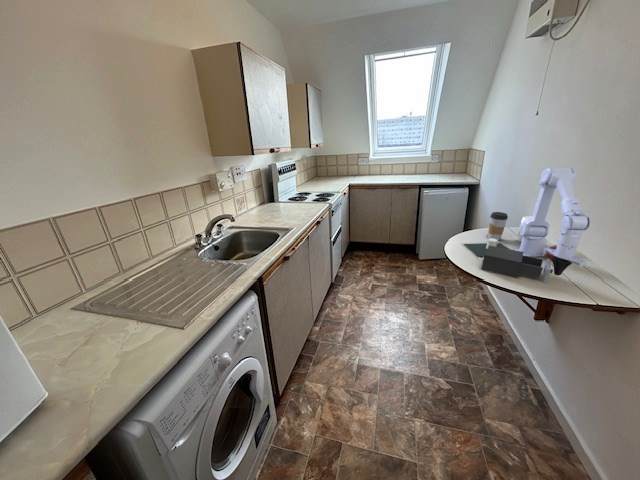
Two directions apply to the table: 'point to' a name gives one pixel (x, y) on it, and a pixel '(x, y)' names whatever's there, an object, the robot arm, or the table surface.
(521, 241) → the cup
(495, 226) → the coffee cup
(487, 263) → the dark grey stepped box
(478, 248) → the mat
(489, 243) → the container
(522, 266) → the drawer
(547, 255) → the onion
